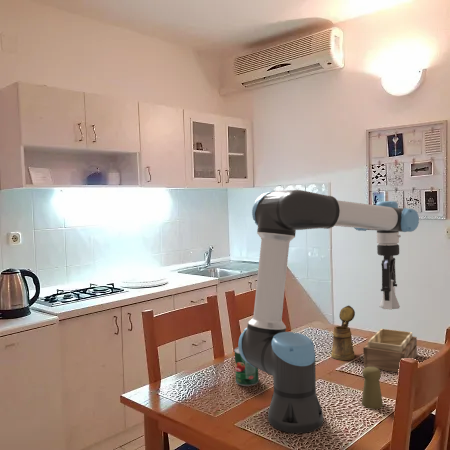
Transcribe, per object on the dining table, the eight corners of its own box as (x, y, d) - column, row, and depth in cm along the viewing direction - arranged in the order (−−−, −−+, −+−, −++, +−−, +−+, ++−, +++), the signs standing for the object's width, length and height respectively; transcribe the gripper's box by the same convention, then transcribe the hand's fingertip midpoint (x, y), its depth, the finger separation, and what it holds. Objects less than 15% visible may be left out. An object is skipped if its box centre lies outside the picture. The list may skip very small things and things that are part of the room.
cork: (380, 410, 133) (379, 373, 132) (359, 406, 136) (358, 369, 136) (385, 402, 138) (384, 366, 138) (364, 398, 141) (364, 363, 141)
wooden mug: (361, 351, 184) (360, 306, 183) (350, 361, 172) (349, 314, 171) (339, 347, 189) (338, 304, 187) (327, 358, 177) (326, 311, 176)
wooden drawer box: (404, 373, 159) (404, 353, 159) (363, 366, 167) (363, 347, 167) (416, 354, 177) (416, 336, 176) (379, 349, 185) (379, 332, 184)
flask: (381, 310, 166) (380, 282, 165) (377, 305, 173) (376, 278, 172) (402, 309, 165) (401, 282, 164) (397, 304, 172) (396, 278, 171)
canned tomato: (263, 380, 158) (262, 348, 158) (248, 388, 152) (247, 355, 152) (245, 375, 164) (244, 344, 163) (230, 382, 158) (229, 350, 157)
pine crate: (401, 368, 161) (401, 346, 161) (368, 363, 167) (367, 341, 167) (412, 353, 176) (412, 332, 176) (381, 348, 183) (381, 328, 182)
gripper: (394, 247, 157) (396, 314, 158) (403, 241, 174) (404, 301, 176) (371, 247, 161) (373, 312, 162) (382, 240, 178) (384, 299, 179)
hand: (389, 306), depth 169 cm, fingers closed on flask, 7 cm apart
